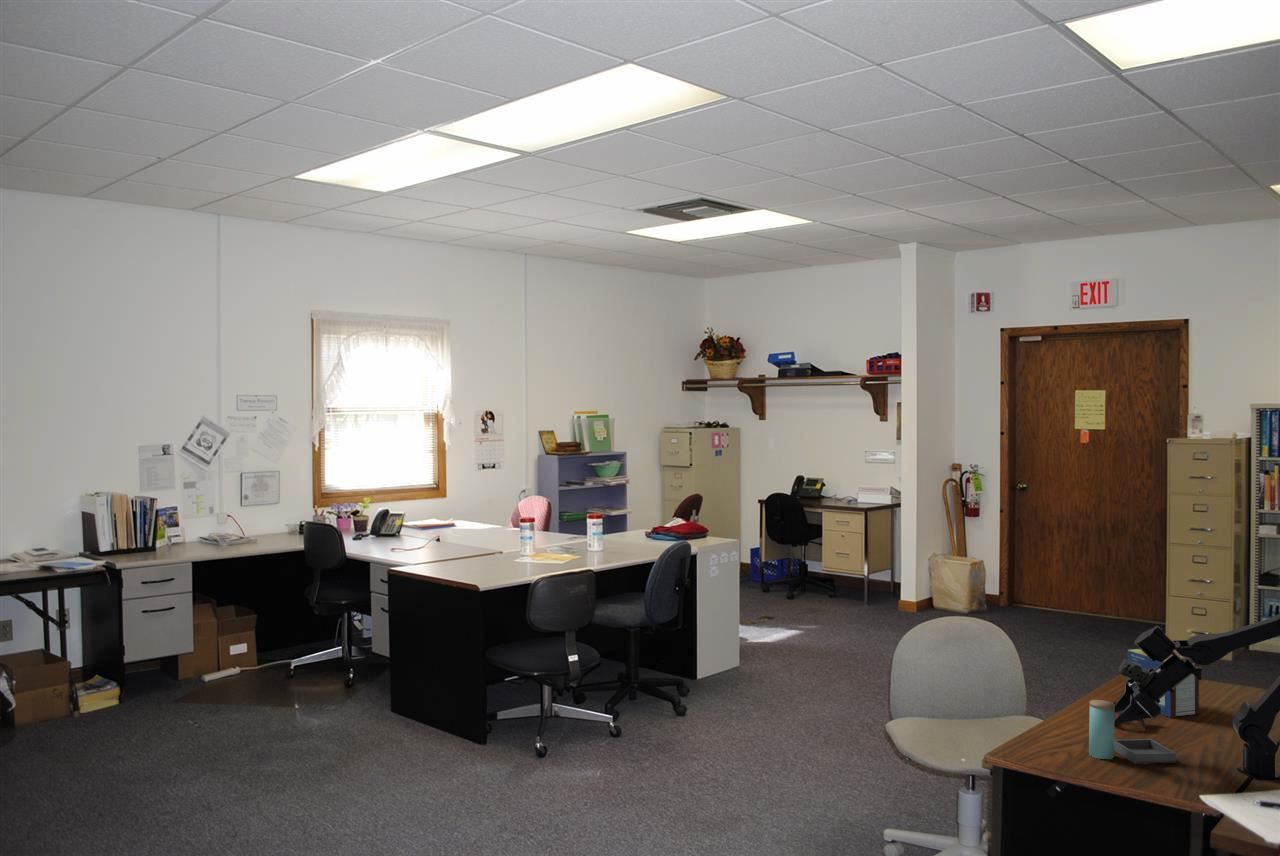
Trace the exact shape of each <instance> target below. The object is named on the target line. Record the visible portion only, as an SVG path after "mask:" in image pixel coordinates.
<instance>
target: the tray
mask: <svg viewBox="0 0 1280 856" xmlns="http://www.w3.org/2000/svg"><path fill="white" fill-rule="evenodd" d="M1114 751H1115V752H1114V753H1116V752H1117V753H1119V754H1120V755H1119V754H1118V755H1119V756H1121V755H1122V756H1123V757H1122V756H1121V757H1122V758H1124V757H1125V758H1127V759H1128V760H1130V761H1131V763H1132V762H1133V763H1135V764H1141V765H1150V764H1149V763H1176V764H1177V753H1176V752H1175V751H1174V750H1171V749H1170V748H1167V747H1166V746H1164V745H1163V744H1161V743H1159V742H1158V741H1156V740H1154V739H1151V738H1139V739H1138V738H1137V739H1135V738H1134V739H1114ZM1117 753H1116V754H1117ZM1125 758H1124V759H1125ZM1127 759H1126V760H1127ZM1128 760H1127V761H1128ZM1130 761H1129V762H1130ZM1133 763H1132V764H1133ZM1145 763H1146V764H1145ZM1135 764H1134V765H1135Z"/></svg>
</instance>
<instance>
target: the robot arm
mask: <svg viewBox="0 0 1280 856" xmlns="http://www.w3.org/2000/svg"><path fill="white" fill-rule="evenodd" d="M1277 637H1280V613H1278V614H1276V615H1275V616H1273V617H1269V618H1267V619H1266V618H1265V619H1262V620H1260V621H1257V622H1254V623H1250V624H1248V625H1244V626H1240V627H1238V628H1235V629H1231V630H1228V631H1226V632H1221V633H1206V634H1200V635H1194V636H1191V637H1189V638H1188V639H1181V640H1180V639H1178V640H1176V639H1175V640H1172V639H1171V638H1170V637H1169V636H1168V635H1166V634H1165V632H1164V631H1163V629H1162V628H1161V627H1160V626H1158V625H1155V626H1154V627H1153V628H1152V627H1151V628H1150V629H1147V630H1146V631H1143V632H1142V633H1141V634H1140V635H1139V636H1138V637H1136V639H1135V641H1134V645H1136V646H1137V648H1138V649H1141V650H1142V651H1143V652H1144V653H1145V654H1146V655H1147V656H1148V657H1149V658H1150V659H1151V660H1152V661H1158V662H1162V661H1164V660H1165V661H1164V662H1163V663H1162V664H1160V665H1159V666H1158V667H1156V668H1154V667H1153V668H1152V667H1151V668H1149V669H1148V670H1146V669H1144V668H1142V667H1141V666H1139V665H1137V664H1136V663H1133V662H1131V661H1129V660H1128V658H1124V659H1123V660H1122V662H1121V663H1120V665H1119V667H1118V668H1117V670H1118V674H1120V675H1122V676H1124V677H1126V678H1125V681H1124V692H1123V693H1122V694H1121V696H1120V697H1119V699H1118V700H1116V701H1117V703H1116V704H1115V713H1116V712H1119V711H1123V710H1124V711H1123V712H1122V713H1121V714H1118V717H1117V718H1115V721H1116V722H1117V724H1119V725H1120V724H1124V723H1128V722H1134V721H1136V720H1140V719H1144V720H1145V719H1152V718H1153V719H1156V718H1157V717H1158V716H1160V714H1161V707H1160V705H1159V704H1158V703H1160V702H1161V701H1160V699H1161V698H1162V697H1163V696H1164V695H1166V694H1167V693H1168V692H1171V693H1173V692H1174V691H1175V690H1174V688H1175V687H1176V686H1177V685H1179V684H1180V683H1181V682H1183V681H1184V680H1185V679H1187V678H1188V677H1189V676H1190V675H1192V674H1193V675H1194V676H1195V677H1196V678H1197V679H1198V680H1199V681H1202V680H1203V677H1202V672H1203V668H1202V666H1208V665H1211V664H1213V663H1215V662H1217V661H1219V660H1221V659H1223V658H1225V656H1227V655H1228V654H1230V653H1231V652H1234V651H1236V650H1239V649H1242V648H1243V649H1244V648H1245V647H1249V646H1252V645H1255V644H1259V643H1262V642H1265V641H1268V640H1271V639H1275V638H1277ZM1176 653H1177V654H1180V655H1181V656H1183V657H1185V658H1180V657H1179V656H1178V655H1177V654H1176ZM1171 654H1173V655H1172V656H1171V657H1169V656H1170V655H1171ZM1168 657H1169V658H1168ZM1186 657H1187V658H1191V659H1192V661H1194V662H1195V663H1197V664H1199V666H1194V665H1193V664H1192V663H1191V662H1190V661H1189V660H1188V659H1187V658H1186ZM1167 658H1168V659H1167ZM1166 659H1167V660H1166ZM1279 713H1280V675H1279V676H1278V677H1277V678H1276V679H1275V681H1273V683H1272V684H1271V685H1270V686H1269V688H1268V689H1267V690H1265V692H1264V693H1263V695H1261V697H1260V698H1259V699H1258V700H1257V701H1255V702H1253V703H1251V704H1249V703H1248V702H1246V701H1243V703H1241V706H1240V707H1239V709H1238V710H1236V711H1234V712H1233V713H1232V714H1233V716H1234V717H1233V719H1232V725H1233V726H1232V727H1233V729H1234V730H1235V731H1236V734H1237V735H1238V737H1239V738H1240V739H1241V740H1242V741H1243V742H1245V743H1243V750H1242V766H1237V767H1236V770H1237V771H1239V772H1241V773H1243V774H1245V775H1247V776H1248V777H1250V778H1252V779H1254V780H1277V779H1276V778H1280V774H1278V773H1276V754H1277V752H1278V750H1279V745H1278V744H1277V743H1276V742H1275V741H1274V739H1273V738H1272V736H1271V735H1270V734H1271V733H1270V732H1271V731H1272V730H1273V727H1274V723H1275V721H1276V720H1275V719H1276V717H1277V715H1278V714H1279ZM1116 714H1117V713H1116Z"/></svg>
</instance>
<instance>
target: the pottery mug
mask: <svg viewBox="0 0 1280 856" xmlns="http://www.w3.org/2000/svg"><path fill="white" fill-rule="evenodd" d="M1117 701H1118V700H1116V701H1114V702H1113V703H1114V704H1116V703H1117ZM1123 711H1124V710H1123ZM1123 711H1119V712H1116V714H1118V715H1120V714H1121V713H1122V712H1123ZM1114 720H1116V716H1115V715H1114ZM1135 721H1136V722H1134V723H1133V726H1134V728H1135V730H1137V731H1138V732H1141V731H1143V730H1144V729H1146V728H1147V726H1146V723H1145V719H1140V720H1135ZM1140 730H1141V731H1140ZM1137 731H1136V732H1137Z"/></svg>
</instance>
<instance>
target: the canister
mask: <svg viewBox="0 0 1280 856" xmlns="http://www.w3.org/2000/svg"><path fill="white" fill-rule="evenodd" d="M1088 714H1089V716H1088V717H1089V723H1088V724H1089V729H1088V731H1089V733H1088V756H1090V757H1091V756H1092V757H1091V758H1093V757H1095V758H1094V759H1096V758H1101V759H1111V758H1114V759H1115V752H1114V740H1115V719H1114V716H1115V704H1114V702H1111V701H1107V700H1103V699H1091V700H1089V713H1088Z"/></svg>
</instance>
